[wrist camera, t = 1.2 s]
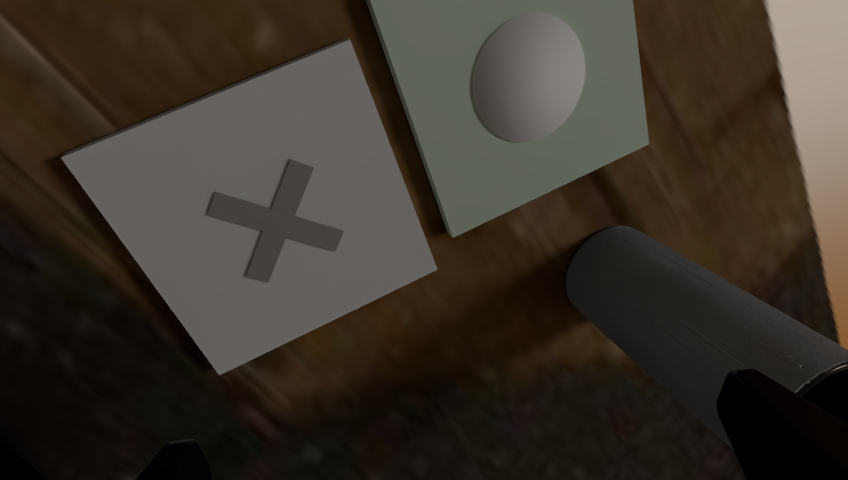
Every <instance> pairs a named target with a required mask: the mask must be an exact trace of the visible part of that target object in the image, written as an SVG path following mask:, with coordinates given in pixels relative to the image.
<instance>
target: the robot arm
mask: <svg viewBox="0 0 848 480" xmlns="http://www.w3.org/2000/svg"><path fill="white" fill-rule="evenodd" d="M716 407H717V412H718V416H719V418H720V420H721V423H722V425H723V427H724V429H725V432H726V434H727V436H728V438H729V441H730V443H731V445H732V447H733V450H734V452H735V454H736V456H737V459H738V461H739V463H740V465H741V468H742V470H743V472H744V474H745V476H746V479H747V480H848V425H846V424H845V423H843V422H841V421H840V420H838V419H836V418H835V417H833V416H832V415H830V414H828V413H827V412H825V411H823V410H822V409H820V408H818V407H817V406H815V405H814V404H812V403H810V402H809V401H807V400H805V399H804V398H802V397H801V396H799V395H797V394H796V393H794V392H792V391H791V390H789V389H788V388H786V387H784V386H783V385H781V384H779V383H778V382H776V381H774V380H773V379H771V378H770V377H768V376H766V375H765V374H763V373H761V372H760V371H758V370H755V369H741V370H733V371H730V372H729V373H728V374H727V375H726V377H725V380H724V382H723V385H722V388H721V391H720V393H719V396H718V399H717V405H716ZM0 480H47V479H45V478H44V477H43V476H42V475H41V474H40V473H39V472H38V471H36V470H35V469H34V468H33V467H32V466H31V465H30V464H29V463H27V462H26V461H25V460H24V459H23V458H21V457H20V456H19V455H18V454H17V453H16V452H15V451H13V450H12V449H11V448H10V447H9V446H8V445H7V444H6V443H4V442H3V441H2V440H1V439H0ZM136 480H211V472H210V468H209V465H208V463H207V461H206V459H205V457H204V455H203V453H202V451H201V449H200V447H199V445H198V443H197V442H196V441H195V440H193V439H186V440H178V441H172V442H169V443H168V444H166V445H165V446H164V447H163V448H162V449H161V451H160V452H159V453H158V454H157V455H156V456H155V458H154V459H153V460H152V461H151V462H150V464H149V465H148V466H147V467H146V468H145V470H144V471H143V472H142V473H141V474H140V475H139V477H138V478H137V479H136Z"/></svg>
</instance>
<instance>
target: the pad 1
mask: <svg viewBox="0 0 848 480" xmlns="http://www.w3.org/2000/svg"><path fill="white" fill-rule="evenodd" d="M61 159H62V160H63V161H64V163H65V164H66V166H67V167H68V168H69V170H70V171H71V172H72V174H73V175H74V177H75V178H76V179H77V181H78V182H79V183H80V185H81V186H82V188H83V189H84V190H85V192H86V193H87V194H88V196H89V197H90V199H91V200H92V201H93V203H94V204H95V205H96V207H97V208H98V210H99V211H100V212H101V214H102V215H103V216H104V218H105V219H106V221H107V222H108V223H109V225H110V226H111V227H112V229H113V230H114V231H115V233H116V234H117V236H118V237H119V238H120V240H121V241H122V242H123V244H124V245H125V247H126V248H127V249H128V251H129V252H130V253H131V255H132V256H133V258H134V259H135V260H136V262H137V263H138V264H139V266H140V267H141V269H142V270H143V271H144V273H145V274H146V275H147V277H148V278H149V280H150V281H151V282H152V284H153V285H154V286H155V288H156V289H157V290H158V292H159V293H160V295H161V296H162V297H163V299H164V300H165V301H166V303H167V304H168V306H169V307H170V308H171V310H172V311H173V312H174V314H175V315H176V317H177V318H178V319H179V321H180V322H181V323H182V325H183V326H184V328H185V329H186V330H187V332H188V333H189V334H190V336H191V337H192V339H193V340H194V341H195V343H196V344H197V345H198V347H199V348H200V350H201V351H202V352H203V354H204V355H205V356H206V358H207V359H208V360H209V362H210V363H211V365H212V366H213V367H214V369H215V370H216V371H217V373H218V374H219V375H221V374H223V373H225V372H227V371H229V370H231V369H233V368H235V367H238V366H240V365H242V364H244V363H246V362H248V361H250V360H252V359H254V358H256V357H258V356H260V355H262V354H264V353H266V352H268V351H271V350H273V349H275V348H277V347H279V346H281V345H283V344H285V343H287V342H289V341H291V340H293V339H295V338H297V337H299V336H301V335H304V334H306V333H308V332H310V331H312V330H314V329H316V328H318V327H320V326H322V325H324V324H326V323H328V322H330V321H332V320H334V319H337V318H339V317H341V316H343V315H345V314H347V313H349V312H351V311H353V310H355V309H357V308H359V307H361V306H363V305H365V304H367V303H370V302H372V301H374V300H376V299H378V298H380V297H382V296H384V295H386V294H388V293H390V292H392V291H394V290H396V289H398V288H400V287H403V286H405V285H407V284H409V283H411V282H413V281H415V280H417V279H419V278H421V277H423V276H425V275H427V274H429V273H431V272H433V271H436V270H437V267H436V264H435V262H434V259H433V256H432V254H431V251H430V249H429V246H428V243H427V241H426V238H425V235H424V233H423V230H422V228H421V225H420V222H419V220H418V217H417V214H416V212H415V209H414V206H413V204H412V201H411V199H410V196H409V193H408V191H407V188H406V185H405V183H404V180H403V178H402V175H401V172H400V170H399V167H398V164H397V162H396V159H395V156H394V154H393V151H392V149H391V146H390V143H389V141H388V138H387V135H386V133H385V130H384V128H383V125H382V122H381V120H380V117H379V114H378V112H377V109H376V106H375V104H374V101H373V99H372V96H371V93H370V91H369V88H368V85H367V83H366V80H365V77H364V75H363V72H362V70H361V67H360V64H359V62H358V59H357V56H356V54H355V51H354V49H353V46H352V43H351V41H350V39H347V38H346V39H343V40H341V41H338V42H336V43H333V44H331V45H328V46H326V47H323V48H321V49H319V50H316V51H314V52H311V53H309V54H306V55H304V56H301V57H299V58H296V59H294V60H292V61H289V62H287V63H284V64H282V65H279V66H277V67H274V68H272V69H269V70H267V71H265V72H262V73H260V74H257V75H255V76H252V77H250V78H247V79H245V80H242V81H240V82H238V83H235V84H233V85H230V86H228V87H225V88H223V89H220V90H218V91H215V92H213V93H211V94H208V95H206V96H203V97H201V98H198V99H196V100H193V101H191V102H189V103H186V104H184V105H181V106H179V107H176V108H174V109H171V110H169V111H166V112H164V113H162V114H159V115H157V116H154V117H152V118H149V119H147V120H144V121H142V122H139V123H137V124H135V125H132V126H130V127H127V128H125V129H122V130H120V131H117V132H115V133H112V134H110V135H108V136H105V137H103V138H100V139H98V140H95V141H93V142H90V143H88V144H85V145H83V146H81V147H78V148H76V149H73V150H71V151H68V152H66V153H65V154H64V155H63V156H62V157H61Z"/></svg>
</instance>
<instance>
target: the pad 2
mask: <svg viewBox="0 0 848 480" xmlns="http://www.w3.org/2000/svg"><path fill="white" fill-rule="evenodd" d="M366 3H367V5H368V8H369V11H370V14H371V17H372V20H373V22H374V25H375V28H376V31H377V34H378V37H379V39H380V42H381V45H382V48H383V51H384V54H385V56H386V59H387V62H388V65H389V68H390V71H391V73H392V76H393V79H394V82H395V85H396V88H397V91H398V93H399V96H400V99H401V102H402V105H403V108H404V110H405V113H406V116H407V119H408V122H409V125H410V127H411V130H412V133H413V136H414V139H415V142H416V144H417V147H418V150H419V153H420V156H421V159H422V161H423V164H424V167H425V170H426V173H427V176H428V178H429V181H430V184H431V187H432V190H433V193H434V195H435V198H436V201H437V204H438V207H439V210H440V212H441V215H442V218H443V221H444V224H445V227H446V229H447V232H448V233H449V234H450V235H451V236H452V237H453V238H454V237H456V236H458V235H460V234H462V233H464V232H466V231H468V230H470V229H473V228H475V227H477V226H479V225H481V224H483V223H485V222H487V221H489V220H491V219H493V218H496V217H498V216H500V215H502V214H504V213H506V212H508V211H510V210H512V209H514V208H516V207H519V206H521V205H523V204H525V203H527V202H529V201H531V200H533V199H535V198H537V197H539V196H542V195H544V194H546V193H548V192H550V191H552V190H554V189H556V188H558V187H560V186H563V185H565V184H567V183H569V182H571V181H573V180H575V179H577V178H579V177H581V176H583V175H586V174H588V173H590V172H592V171H594V170H596V169H598V168H600V167H602V166H604V165H606V164H609V163H611V162H613V161H615V160H617V159H619V158H621V157H623V156H625V155H627V154H629V153H632V152H634V151H636V150H638V149H640V148H642V147H644V146H646V145H648V144H649V139H648V130H647V121H646V112H645V104H644V95H643V86H642V77H641V68H640V59H639V51H638V42H637V33H636V24H635V15H634V6H633V0H366Z"/></svg>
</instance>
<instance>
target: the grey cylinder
mask: <svg viewBox="0 0 848 480" xmlns="http://www.w3.org/2000/svg"><path fill="white" fill-rule="evenodd" d="M566 292H567V295H568V298H569V300H570V302H571V303H572V304H573V305H574V306H575V307H576V308H577V309H578V311H579V312H580V313H581V314H583V315H584V316H585V317H586V318H587V319H588V320H589V321H590V322H591V323H593V324H594V325H595V326H596V327H597V328H598V329H599V330H600V331H601V332H603V333H604V334H605V335H606V336H607V337H608V338H609V339H610V340H611V341H613V342H614V343H615V344H616V345H617V346H618V347H619V348H620V349H621V350H623V351H624V352H625V353H626V354H627V355H628V356H629V357H630V358H631V359H633V360H634V361H635V362H636V363H637V364H638V365H639V366H640V367H641V368H643V369H644V370H645V371H646V372H647V373H648V374H649V375H650V376H651V377H653V378H654V379H655V380H656V381H657V382H658V383H659V384H660V385H661V386H663V387H664V388H665V389H666V390H667V391H668V392H669V393H670V394H671V395H673V396H674V397H675V398H676V399H677V400H678V401H679V402H680V403H681V404H683V405H684V406H685V407H686V408H687V409H688V410H689V411H690V412H691V413H693V414H694V415H695V416H696V417H697V418H698V419H699V420H700V421H701V422H703V423H704V424H705V425H706V426H707V427H708V428H709V429H710V430H711V431H713V432H714V433H715V434H716V435H717V436H718V437H719V438H720V439H721V440H723V441H724V442H725V443H726V444H727V445H728V446H729V447H730V448H731V449H733V447H732V445H731V443H730V441H729V438H728V436H727V434H726V432H725V429H724V427H723V425H722V423H721V420H720V418H719V416H718V412H717V407H716V405H717V399H718V396H719V393H720V391H721V388H722V385H723V382H724V380H725V377H726V375H727V374H728V373H729V372H730V371H733V370H741V369H755V370H758V371H760V372H761V373H763V374H765V375H766V376H768V377H770V378H771V379H773V380H774V381H776V382H778V383H779V384H781V385H783V386H784V387H786V388H788V389H789V390H791V391H792V392H794V393H796V394H797V395H799V396H801V397H802V398H804V399H805V400H807V401H809V402H810V403H812V404H814V405H815V406H817V407H818V408H820V409H822V410H823V411H825V412H827V413H828V414H830V415H832V416H833V417H835V418H836V419H838V420H840V421H841V422H843V423H845V424H846V425H848V350H847V349H845V348H843V347H841V346H840V345H838V344H836V343H834V342H833V341H831V340H829V339H827V338H826V337H824V336H822V335H820V334H819V333H817V332H815V331H813V330H812V329H810V328H808V327H807V326H805V325H803V324H801V323H800V322H798V321H796V320H794V319H793V318H791V317H789V316H787V315H786V314H784V313H782V312H780V311H779V310H777V309H775V308H773V307H772V306H770V305H768V304H766V303H765V302H763V301H761V300H759V299H758V298H756V297H754V296H752V295H751V294H749V293H747V292H745V291H744V290H742V289H740V288H738V287H737V286H735V285H733V284H731V283H730V282H728V281H726V280H724V279H723V278H721V277H719V276H718V275H716V274H714V273H712V272H711V271H709V270H707V269H705V268H704V267H702V266H700V265H698V264H697V263H695V262H693V261H691V260H690V259H688V258H686V257H684V256H683V255H681V254H679V253H677V252H676V251H674V250H672V249H670V248H669V247H667V246H665V245H663V244H662V243H660V242H658V241H656V240H655V239H653V238H651V237H649V236H648V235H646V234H644V233H642V232H640V231H638V230H636V229H634V228H631V227H627V226H615V227H611V228H607V229H605V230H602V231H600V232H598V233H597V234H595V235H593V236H592V237H591V238H589V239H588V240H587V241H586V242H585V243H584V244H583V245H582V246H581V247H580V248H579V250H578V251H577V252H576V254H575V255H574V257H573V259H572V261H571V263H570V265H569V268H568V271H567V275H566Z"/></svg>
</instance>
